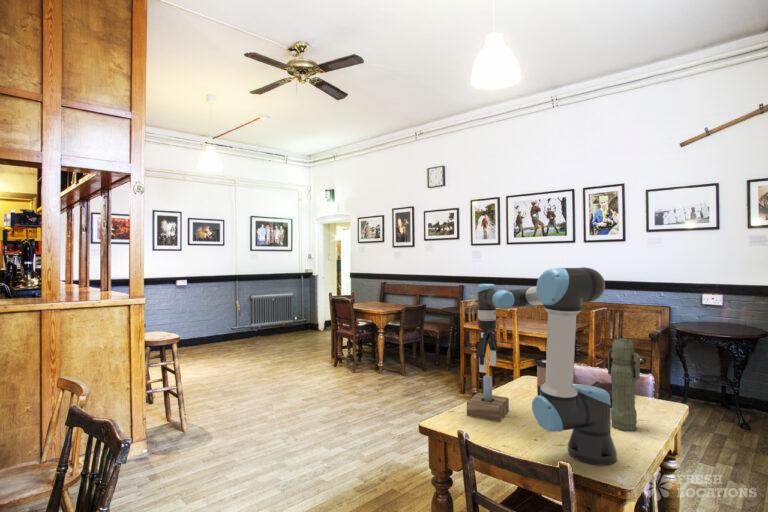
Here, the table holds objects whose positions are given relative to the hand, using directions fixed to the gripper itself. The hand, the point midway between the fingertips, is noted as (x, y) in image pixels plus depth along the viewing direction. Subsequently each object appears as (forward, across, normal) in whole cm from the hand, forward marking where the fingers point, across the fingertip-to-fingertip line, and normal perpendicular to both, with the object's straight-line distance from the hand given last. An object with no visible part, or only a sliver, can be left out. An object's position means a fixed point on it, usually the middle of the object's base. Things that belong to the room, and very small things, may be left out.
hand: (488, 368), depth 187 cm
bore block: (+20, 0, +1) cm, 20 cm away
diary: (+20, +47, -42) cm, 66 cm away
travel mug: (+20, +26, -18) cm, 37 cm away
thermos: (+20, +14, -50) cm, 56 cm away
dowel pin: (+18, 0, 0) cm, 18 cm away
